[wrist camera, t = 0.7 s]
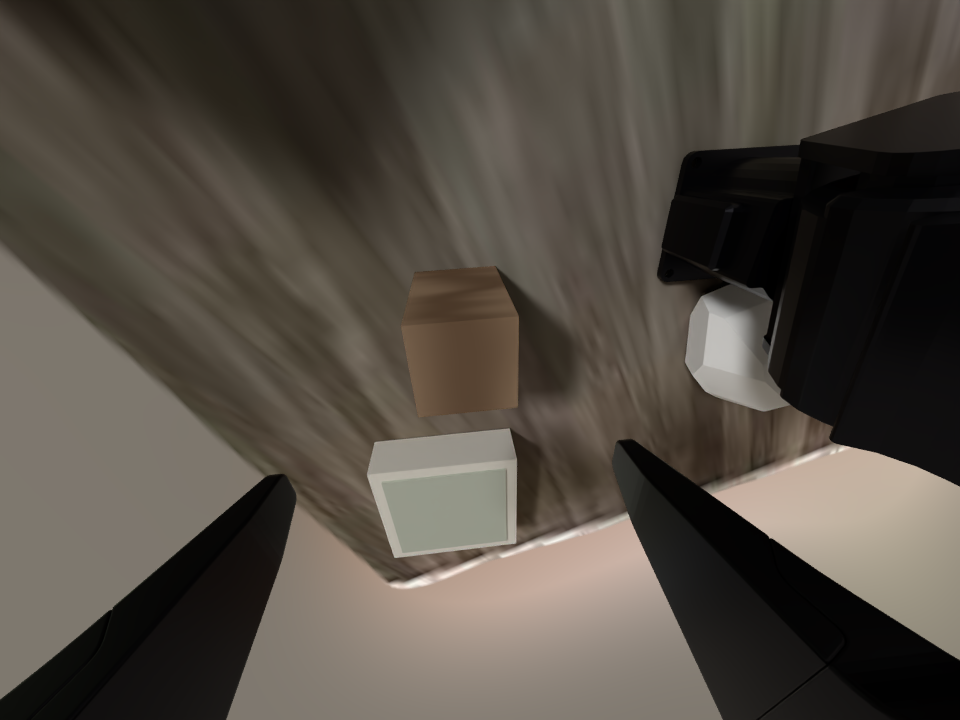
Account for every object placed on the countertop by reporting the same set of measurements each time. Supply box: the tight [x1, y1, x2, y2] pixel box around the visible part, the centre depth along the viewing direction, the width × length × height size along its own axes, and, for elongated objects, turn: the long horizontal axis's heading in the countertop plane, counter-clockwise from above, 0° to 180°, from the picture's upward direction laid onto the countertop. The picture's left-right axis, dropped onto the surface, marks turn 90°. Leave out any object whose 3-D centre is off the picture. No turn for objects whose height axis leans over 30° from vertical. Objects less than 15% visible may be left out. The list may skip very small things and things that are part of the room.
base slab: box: [367, 428, 517, 558], centre depth 26 cm, size 10×10×3 cm
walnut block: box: [401, 266, 519, 417], centre depth 17 cm, size 4×4×7 cm
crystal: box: [685, 284, 790, 412], centre depth 20 cm, size 7×7×24 cm
